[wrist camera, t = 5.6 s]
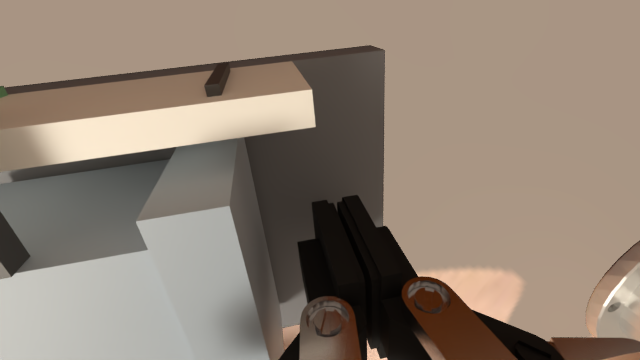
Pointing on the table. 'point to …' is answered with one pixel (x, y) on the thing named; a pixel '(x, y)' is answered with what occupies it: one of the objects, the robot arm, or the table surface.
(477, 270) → the table surface
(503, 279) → the table surface
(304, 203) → the frame
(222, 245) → the grey block
